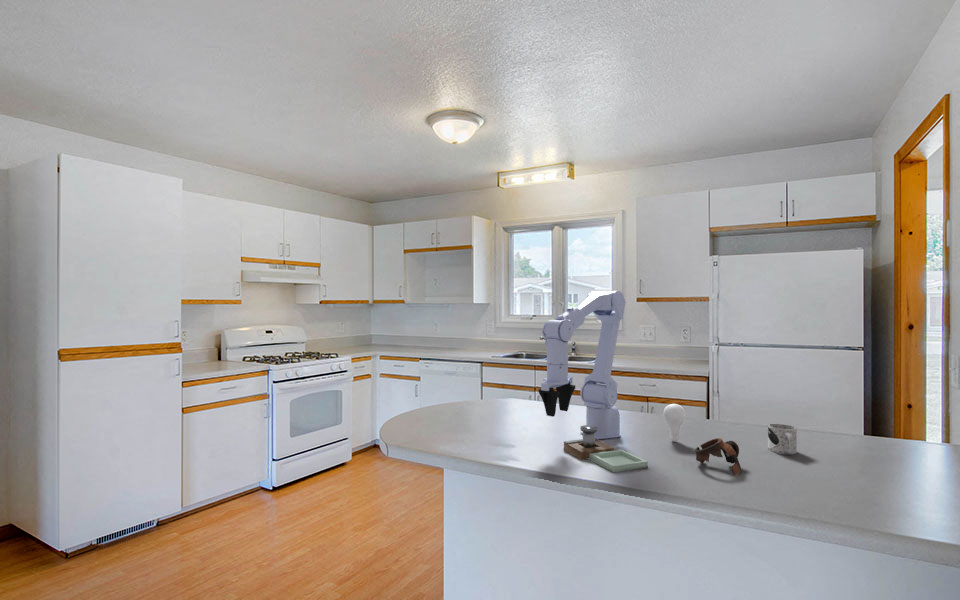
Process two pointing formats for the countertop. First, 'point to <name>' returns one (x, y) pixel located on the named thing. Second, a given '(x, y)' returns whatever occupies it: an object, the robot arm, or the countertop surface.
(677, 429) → the lightbulb
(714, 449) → the brown curved strap
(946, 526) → the countertop surface
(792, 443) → the mug
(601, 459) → the tray
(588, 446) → the pin
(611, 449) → the block
